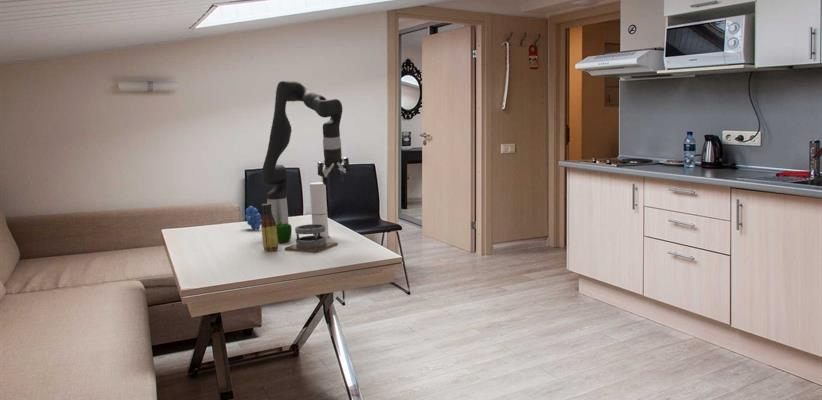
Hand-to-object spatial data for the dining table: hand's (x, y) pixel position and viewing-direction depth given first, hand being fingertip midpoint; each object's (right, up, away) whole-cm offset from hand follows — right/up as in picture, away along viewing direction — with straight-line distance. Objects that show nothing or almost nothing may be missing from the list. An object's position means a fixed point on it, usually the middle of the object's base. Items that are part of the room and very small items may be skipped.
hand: (334, 183), depth 275 cm
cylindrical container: (-9, -25, +20) cm, 33 cm away
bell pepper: (-25, -26, +12) cm, 38 cm away
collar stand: (-9, -28, -4) cm, 29 cm away
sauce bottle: (-26, -29, -5) cm, 40 cm away
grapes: (-47, -23, +46) cm, 69 cm away
